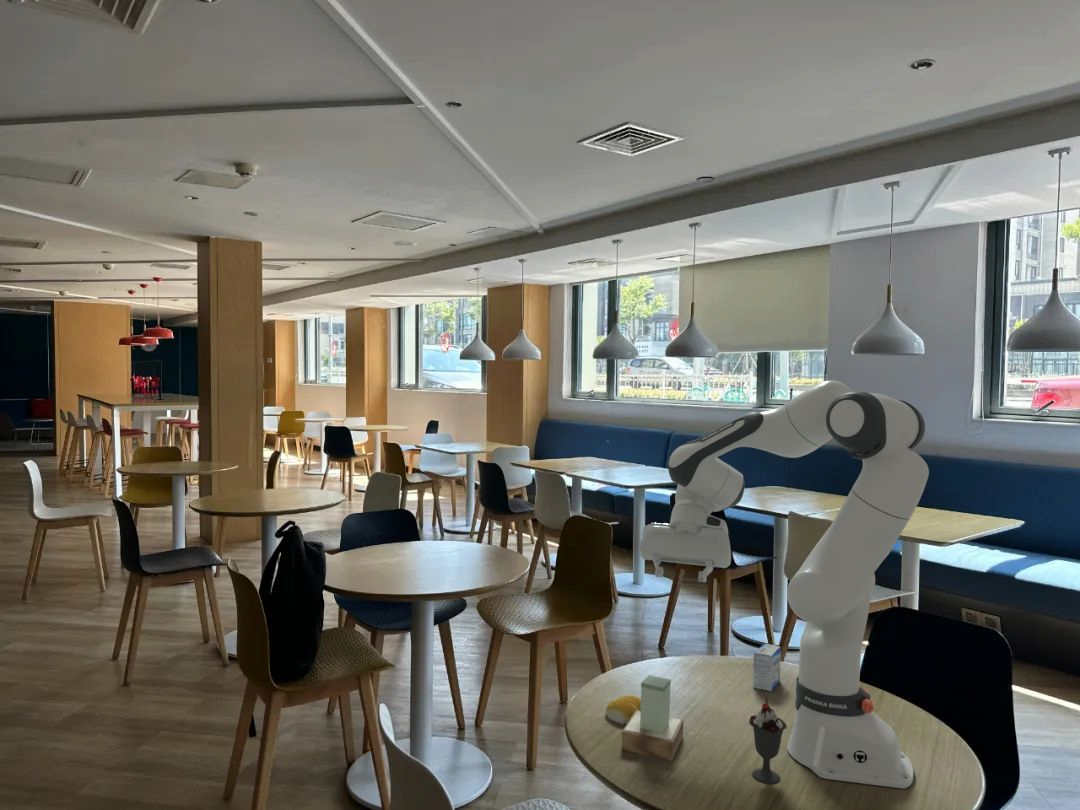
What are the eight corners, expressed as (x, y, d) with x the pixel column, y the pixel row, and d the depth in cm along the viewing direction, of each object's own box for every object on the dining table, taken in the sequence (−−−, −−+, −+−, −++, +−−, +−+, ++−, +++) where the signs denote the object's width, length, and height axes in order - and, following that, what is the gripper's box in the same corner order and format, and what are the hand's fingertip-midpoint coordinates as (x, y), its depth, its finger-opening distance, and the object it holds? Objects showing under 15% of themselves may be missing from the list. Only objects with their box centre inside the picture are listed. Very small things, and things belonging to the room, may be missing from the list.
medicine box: (771, 692, 172) (772, 656, 172) (752, 687, 174) (753, 652, 174) (780, 681, 179) (781, 646, 178) (761, 677, 181) (763, 642, 181)
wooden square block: (682, 739, 149) (683, 719, 149) (671, 762, 140) (672, 741, 140) (635, 729, 153) (635, 709, 153) (621, 751, 144) (622, 730, 144)
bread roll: (654, 716, 159) (654, 697, 159) (629, 729, 153) (630, 710, 152) (623, 703, 165) (624, 686, 165) (598, 716, 158) (599, 698, 158)
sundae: (758, 762, 140) (761, 685, 139) (791, 777, 135) (794, 697, 135) (740, 775, 136) (742, 695, 135) (772, 790, 131) (776, 708, 130)
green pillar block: (669, 724, 147) (670, 679, 147) (661, 733, 143) (663, 687, 142) (647, 718, 149) (649, 674, 149) (639, 727, 145) (641, 682, 145)
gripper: (642, 514, 170) (631, 565, 161) (732, 521, 163) (725, 575, 154) (646, 529, 174) (635, 580, 166) (735, 537, 167) (728, 591, 158)
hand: (679, 578), depth 160 cm, fingers open, 8 cm apart
